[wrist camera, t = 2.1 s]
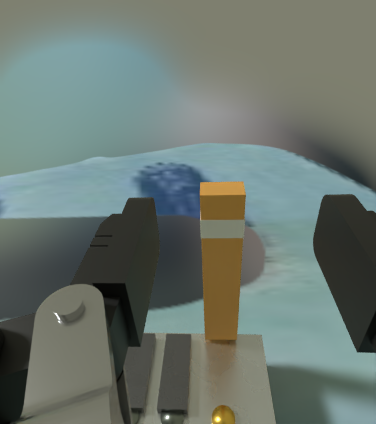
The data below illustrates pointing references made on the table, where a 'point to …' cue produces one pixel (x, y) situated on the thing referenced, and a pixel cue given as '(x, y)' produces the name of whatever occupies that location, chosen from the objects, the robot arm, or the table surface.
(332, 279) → the robot arm
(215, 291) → the lever
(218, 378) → the silver box
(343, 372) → the table surface
